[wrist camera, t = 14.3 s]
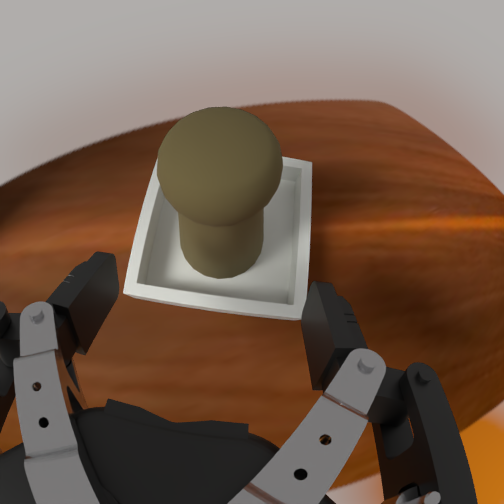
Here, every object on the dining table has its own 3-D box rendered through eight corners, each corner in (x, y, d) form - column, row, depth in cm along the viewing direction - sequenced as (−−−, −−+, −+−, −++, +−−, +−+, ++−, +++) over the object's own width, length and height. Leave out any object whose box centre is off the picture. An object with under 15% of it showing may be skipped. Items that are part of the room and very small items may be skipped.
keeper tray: (135, 298, 19) (123, 293, 16) (167, 161, 22) (162, 142, 19) (294, 320, 19) (304, 318, 17) (303, 179, 23) (312, 162, 20)
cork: (217, 185, 21) (215, 71, 10) (279, 233, 20) (330, 137, 10) (163, 242, 19) (107, 151, 9) (226, 296, 19) (227, 251, 8)
